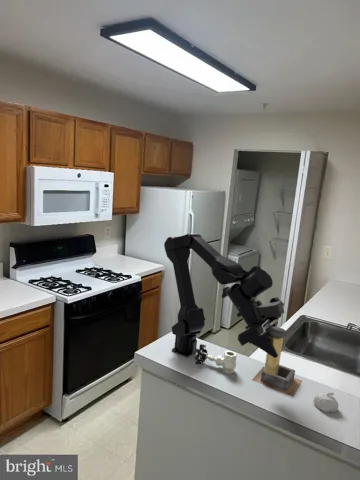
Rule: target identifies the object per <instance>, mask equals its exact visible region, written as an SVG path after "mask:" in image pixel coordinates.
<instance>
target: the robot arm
mask: <svg viewBox="0 0 360 480" xmlns="http://www.w3.org/2000/svg"><path fill="white" fill-rule="evenodd" d="M163 245H164V247H163V248H164V252H165V254H166V257H167V258H168V260H169V261H170V262H171V263H172V266H173V270H174V271H173V272H174V276H175V277H174V278H175V283H176V287H177V294H178V299H179V304H180V307H179V310H178V313H177V322H176V323H175V324H173V325H171V333H172V334H173V335H174V336H175V339H174V347H172V348H171V351H172V352H174V353H176V354H178V355H181V356H183V357H186V358H189V357H190V356H192V355H193V354H194V353H197V349H198V348H197V346H198V340H197V335H200V334H201V333H202V330H203V329H204V327H205V325H206V324H205V321H206V318H205V313H204V309H203V307H199V306H198V305H197V303H196V300H195V294H194V289H193V284H192V278H191V274H190V273H191V272H190V269H189V267H190V266H189V262H188V261H189V258H190V255H191V251H193V252H194V253H195V254H197V255H198V256H199V257H200V258H201V260H203V261H204V262H205V263H206V265H208V266H209V267H210V269H211V275H212V276H213V277H214V278H215V280H216V281H217V283H219V284H220V285H222V286H223V285H231V284H232V285H231V286H230V287H229V286H226V287H224V288H222V294H221V298H222V299H225V298H227V297H228V298H229V300H230V301H231V303H232V304H233V306H234V307H235V309H236V311H237V312H238V313H236V316H237V317H238V318H240V317H241V319H242V320H243V321H244V323H245V324H246V325H245V329H244V330H242V331H241V332H240V333H239V334H238V335H237V341H238V342H239V344H240V346H242V347H243V346H245V345H246V344H249V345H251V344H252V345H254V347H256V348H258V349H260V350H262V351H263V352H265V353H266V354H267V353H268V354H269V355H271V356H272V357H274V358H276V357H278V354H277V352H276V350H275V348H274V346H273V344H272V342H271V340H270V339H269V330H268V328H269V327H278V325H279V321H278V320H279V319H280V318H281V317H282V314H285V309H284V306H285V303H284V302H283V300H280V299H279V297H278V296H273V297H271V298H270V299H269V302H267V303H262V301H261V300H259V299H258V300H256V297H258V296H260V295H261V294H263V293H264V292H266V291H267V290H269V289H271V288H272V286H273V283H274V282H273V278H272V277H271V274H269V273H268V272H267V271H266V270H264V269H262V267H261V266H260V265H253V267H251V268H250V269H249V270H246V269H244V268H243V266H241V264H240V263H238V262H236V261H235V260H233V259H230V258H228V257H226V256H223V255H222V254H221V253H220V252H219V251H217V249H215V248H214V247H213V246H212V245H210V244H209V243H208V241H207V240H205V238H203V237H202V235H201V234H200V233H195V232H194V233H187V234H184V235H180V236H168V237H167V238H166V240H165V241H164V244H163ZM239 282H240V283H239ZM276 320H277V321H276ZM274 321H276V322H274ZM282 352H283V348H282V349H281V353H282Z"/></svg>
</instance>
